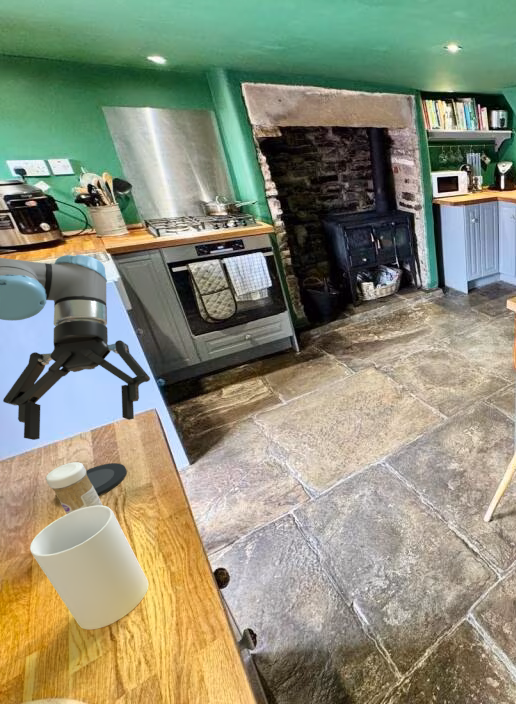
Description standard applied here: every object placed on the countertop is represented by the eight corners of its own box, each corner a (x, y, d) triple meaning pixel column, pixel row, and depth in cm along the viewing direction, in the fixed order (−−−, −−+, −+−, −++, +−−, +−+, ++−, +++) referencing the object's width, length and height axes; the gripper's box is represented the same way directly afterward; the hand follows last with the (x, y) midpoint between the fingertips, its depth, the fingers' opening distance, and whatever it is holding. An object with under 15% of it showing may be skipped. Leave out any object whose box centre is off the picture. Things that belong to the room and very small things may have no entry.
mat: (45, 502, 79) (43, 498, 79) (94, 465, 89) (92, 462, 88) (95, 503, 79) (93, 500, 79) (139, 466, 88) (138, 463, 88)
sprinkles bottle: (69, 536, 73) (36, 480, 67) (92, 515, 77) (63, 460, 72) (95, 536, 73) (64, 480, 68) (117, 514, 77) (89, 460, 72)
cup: (65, 639, 58) (14, 565, 52) (92, 586, 65) (50, 515, 59) (137, 616, 61) (97, 543, 55) (156, 567, 68) (122, 498, 62)
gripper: (164, 323, 91) (171, 413, 85) (7, 344, 80) (2, 450, 74) (151, 309, 85) (156, 406, 79) (-22, 330, 74) (-31, 445, 68)
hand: (81, 428), depth 77 cm, fingers open, 13 cm apart
